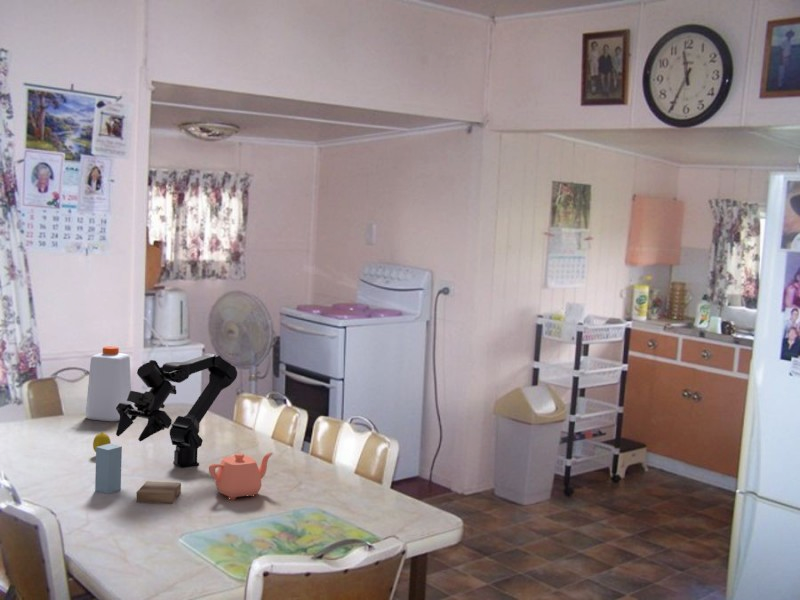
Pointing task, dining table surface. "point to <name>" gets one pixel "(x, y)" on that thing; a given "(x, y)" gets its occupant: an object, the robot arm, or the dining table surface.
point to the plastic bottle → (108, 384)
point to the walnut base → (158, 492)
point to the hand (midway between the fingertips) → (128, 438)
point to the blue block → (108, 468)
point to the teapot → (239, 475)
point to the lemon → (101, 440)
